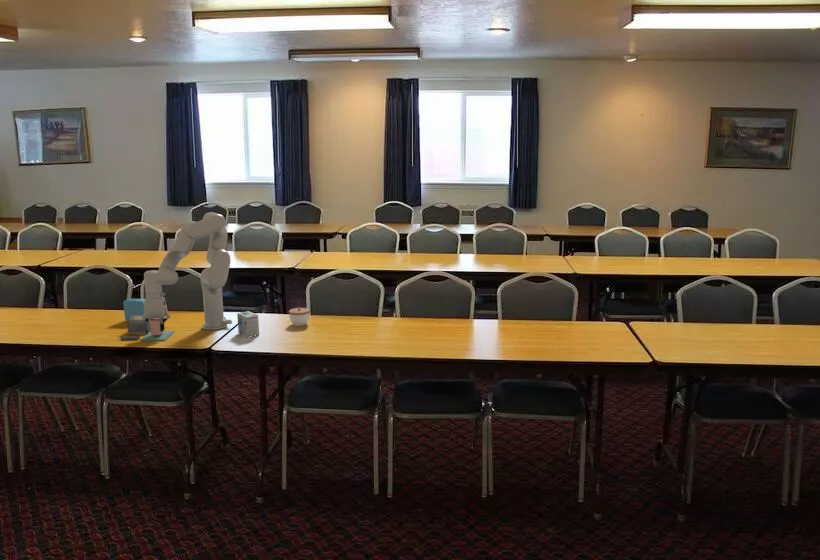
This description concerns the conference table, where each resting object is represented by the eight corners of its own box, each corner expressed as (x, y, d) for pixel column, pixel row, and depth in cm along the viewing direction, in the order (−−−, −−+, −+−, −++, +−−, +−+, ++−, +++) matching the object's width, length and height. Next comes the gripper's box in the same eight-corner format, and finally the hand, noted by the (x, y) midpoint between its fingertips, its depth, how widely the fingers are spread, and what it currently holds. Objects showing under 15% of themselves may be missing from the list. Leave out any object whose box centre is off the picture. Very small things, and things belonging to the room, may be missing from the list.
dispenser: (155, 328, 344) (153, 313, 343) (140, 339, 325) (138, 323, 323) (136, 328, 344) (134, 313, 342) (119, 340, 325) (118, 324, 323)
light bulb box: (238, 333, 334) (236, 312, 331) (250, 330, 338) (248, 310, 336) (247, 338, 326) (246, 317, 323) (260, 335, 330) (258, 314, 328)
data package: (149, 320, 360) (147, 299, 357) (145, 322, 355) (142, 301, 353) (130, 319, 362) (127, 298, 359) (125, 321, 357) (122, 300, 355)
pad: (174, 332, 336) (174, 331, 336) (165, 340, 323) (164, 339, 322) (151, 332, 336) (151, 331, 336) (140, 341, 322) (140, 339, 322)
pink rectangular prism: (164, 330, 332) (163, 317, 331) (159, 335, 326) (157, 321, 324) (156, 331, 332) (154, 317, 331) (150, 335, 325) (149, 321, 324)
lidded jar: (285, 326, 345) (285, 309, 343) (295, 321, 355) (294, 304, 353) (304, 328, 342) (303, 310, 340) (313, 322, 352) (312, 305, 350)
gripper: (173, 293, 329) (176, 328, 333) (140, 293, 328) (143, 329, 332) (168, 297, 321) (171, 333, 325) (134, 297, 321) (137, 333, 325)
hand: (157, 330), depth 329 cm, fingers closed on pink rectangular prism, 4 cm apart
